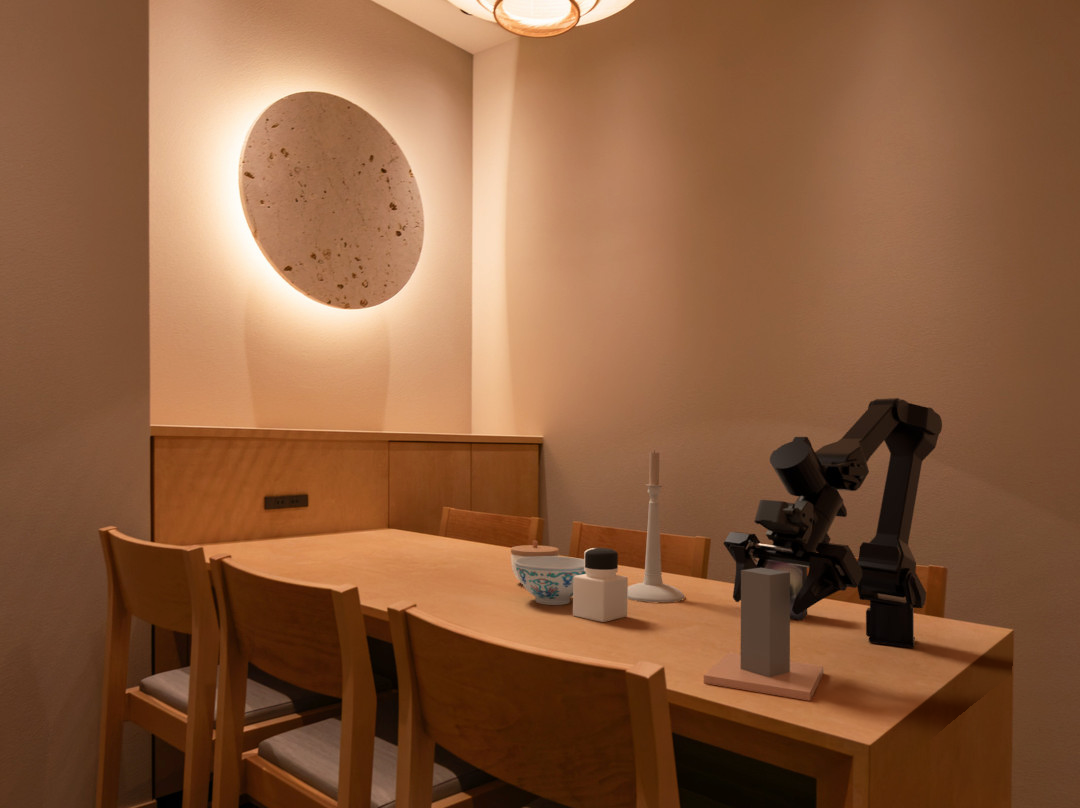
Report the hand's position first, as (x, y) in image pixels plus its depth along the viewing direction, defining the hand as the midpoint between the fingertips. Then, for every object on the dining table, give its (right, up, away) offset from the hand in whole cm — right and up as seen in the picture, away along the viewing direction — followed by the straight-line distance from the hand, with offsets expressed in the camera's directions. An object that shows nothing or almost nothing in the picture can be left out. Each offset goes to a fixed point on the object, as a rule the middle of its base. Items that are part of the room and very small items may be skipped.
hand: (763, 606), depth 99 cm
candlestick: (-7, -13, +54) cm, 56 cm away
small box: (+14, -12, +40) cm, 44 cm away
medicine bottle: (-19, -11, +34) cm, 41 cm away
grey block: (0, -8, 0) cm, 8 cm away
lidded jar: (-31, -13, +65) cm, 74 cm away
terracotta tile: (0, -9, 0) cm, 9 cm away
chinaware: (-27, -12, +47) cm, 55 cm away
